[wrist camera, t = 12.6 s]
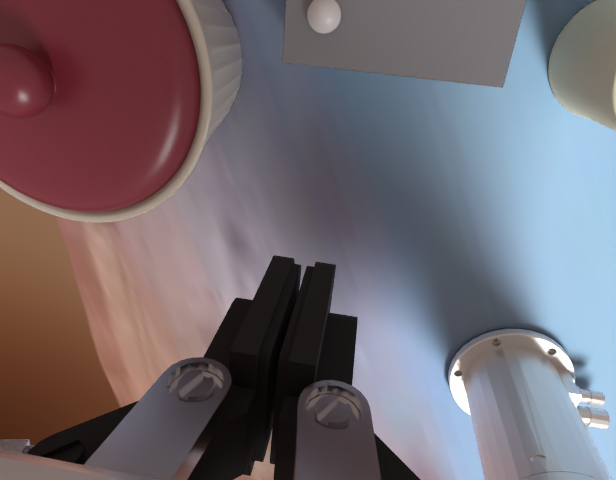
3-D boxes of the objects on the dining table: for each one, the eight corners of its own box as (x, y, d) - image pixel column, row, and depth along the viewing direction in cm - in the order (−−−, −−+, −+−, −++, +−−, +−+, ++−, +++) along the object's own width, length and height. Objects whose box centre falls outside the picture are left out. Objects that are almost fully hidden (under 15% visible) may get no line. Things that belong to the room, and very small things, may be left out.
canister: (311, 103, 41) (249, 177, 22) (152, 184, 46) (-6, 297, 27) (203, -119, 35) (-9, -282, 16) (37, 5, 40) (-265, -8, 22)
